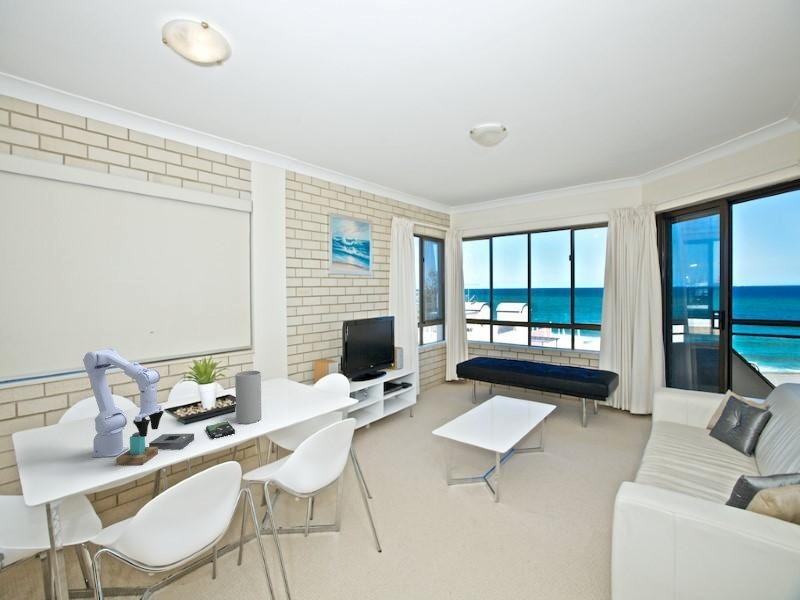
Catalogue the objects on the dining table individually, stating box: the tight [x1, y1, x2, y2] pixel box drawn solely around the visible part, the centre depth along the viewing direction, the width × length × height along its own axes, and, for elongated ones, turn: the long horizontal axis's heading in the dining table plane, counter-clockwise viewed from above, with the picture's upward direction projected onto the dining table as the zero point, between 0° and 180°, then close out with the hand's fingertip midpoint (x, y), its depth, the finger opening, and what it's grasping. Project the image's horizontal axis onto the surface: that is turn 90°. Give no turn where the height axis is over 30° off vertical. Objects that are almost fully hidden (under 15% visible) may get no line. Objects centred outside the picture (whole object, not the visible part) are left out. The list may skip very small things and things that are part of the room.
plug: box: [129, 431, 146, 455], centre depth 151 cm, size 4×4×11 cm
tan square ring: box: [115, 446, 159, 466], centre depth 152 cm, size 10×10×3 cm
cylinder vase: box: [234, 370, 262, 425], centre depth 196 cm, size 12×12×25 cm
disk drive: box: [205, 421, 236, 440], centre depth 180 cm, size 10×3×15 cm
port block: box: [148, 433, 195, 450], centre depth 166 cm, size 14×10×3 cm
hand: (149, 432), depth 153 cm, fingers open, 7 cm apart
